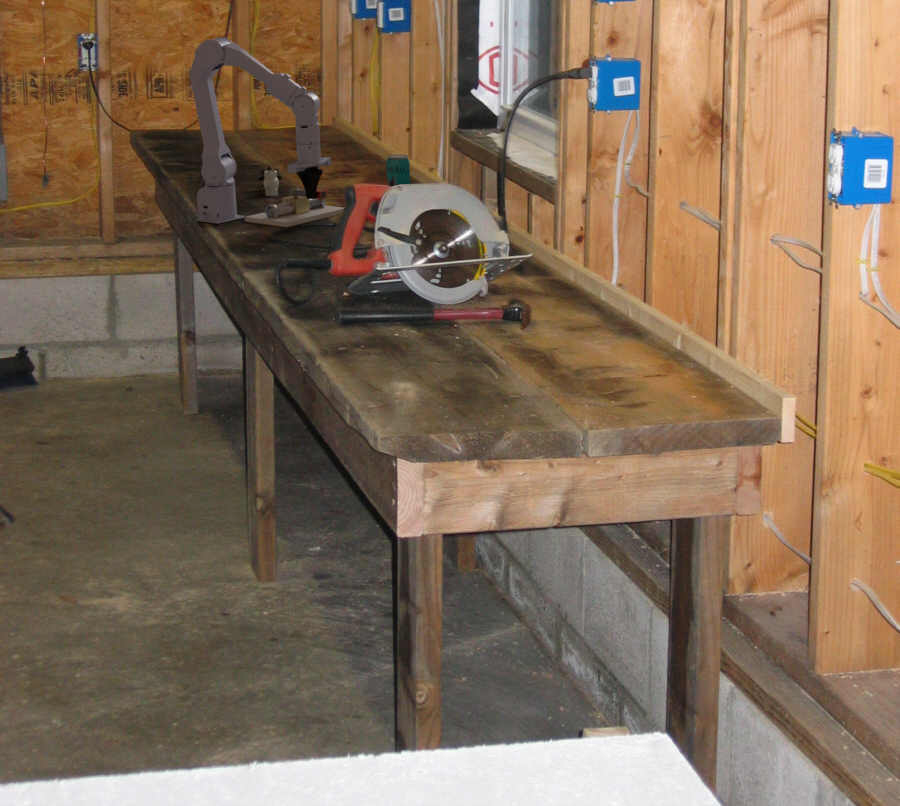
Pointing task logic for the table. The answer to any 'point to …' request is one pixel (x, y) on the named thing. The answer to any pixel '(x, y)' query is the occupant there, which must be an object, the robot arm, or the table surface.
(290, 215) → the mounting board
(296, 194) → the valve lever
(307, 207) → the valve body
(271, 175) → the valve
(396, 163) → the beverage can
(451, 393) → the table surface
